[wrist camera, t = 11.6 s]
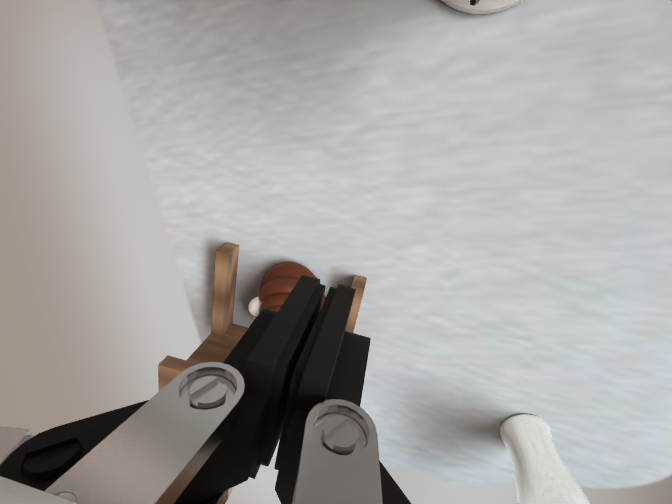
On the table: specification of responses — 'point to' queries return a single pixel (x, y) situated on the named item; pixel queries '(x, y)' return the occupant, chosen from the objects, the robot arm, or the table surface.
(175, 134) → the table surface
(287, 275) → the poop emoji
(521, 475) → the white cylindrical piece
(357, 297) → the cubby
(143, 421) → the robot arm
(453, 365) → the table surface
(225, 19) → the table surface
